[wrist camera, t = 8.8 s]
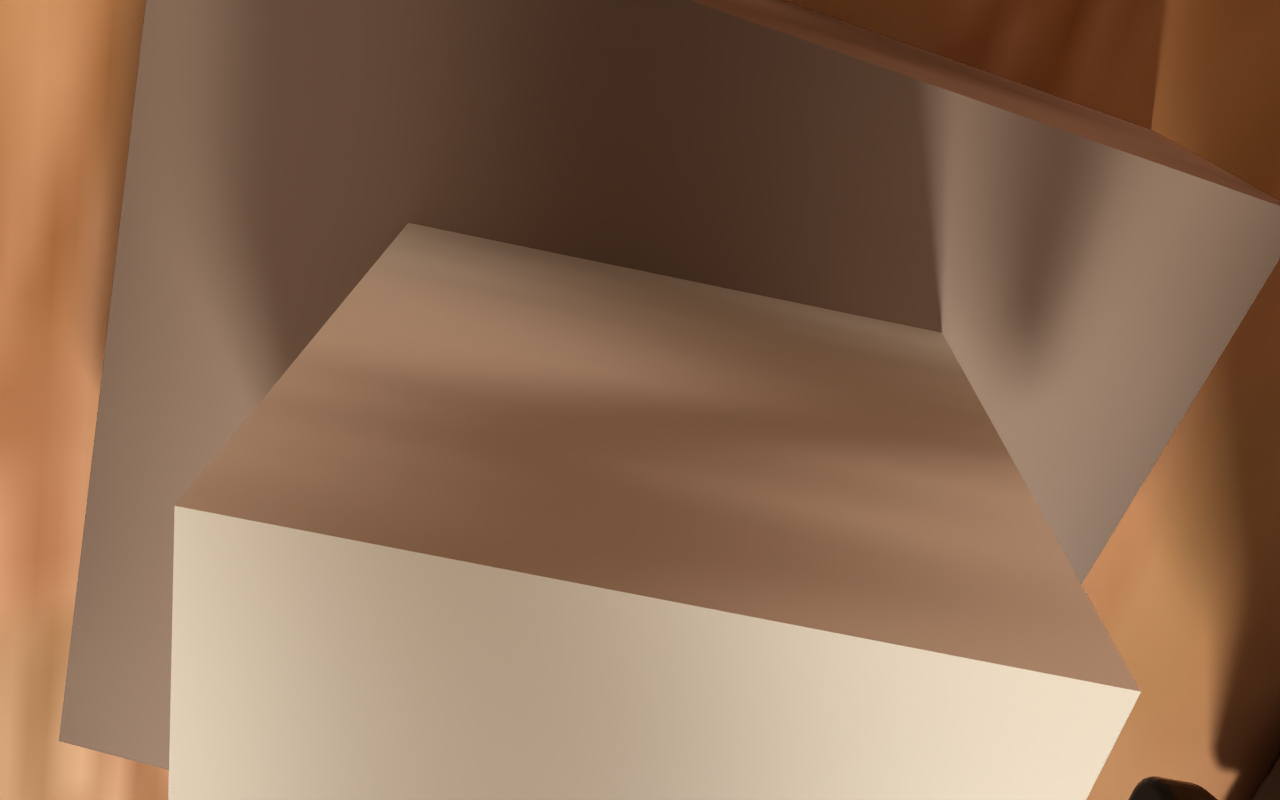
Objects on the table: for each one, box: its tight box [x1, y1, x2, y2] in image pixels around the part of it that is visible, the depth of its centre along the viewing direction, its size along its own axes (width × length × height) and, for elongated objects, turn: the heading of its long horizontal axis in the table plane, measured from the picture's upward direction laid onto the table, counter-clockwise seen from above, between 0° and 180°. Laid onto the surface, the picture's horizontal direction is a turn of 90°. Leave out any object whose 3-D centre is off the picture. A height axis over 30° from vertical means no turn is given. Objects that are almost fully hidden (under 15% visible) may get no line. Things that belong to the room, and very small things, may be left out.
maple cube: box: [168, 223, 1141, 800], centre depth 9 cm, size 5×5×5 cm
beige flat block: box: [59, 0, 1280, 770], centre depth 13 cm, size 10×10×4 cm
